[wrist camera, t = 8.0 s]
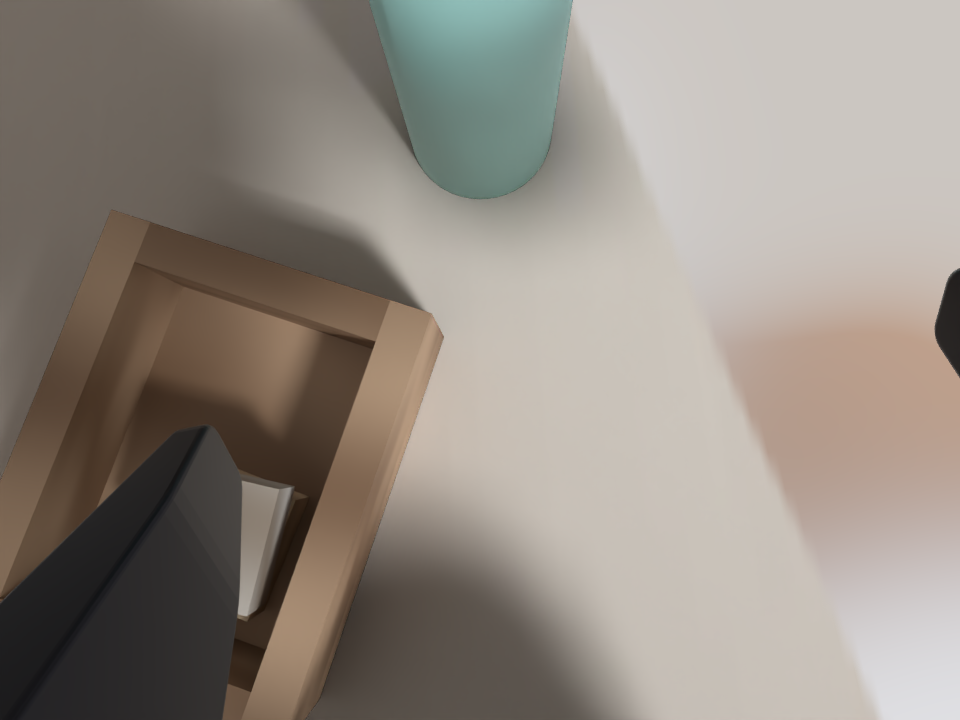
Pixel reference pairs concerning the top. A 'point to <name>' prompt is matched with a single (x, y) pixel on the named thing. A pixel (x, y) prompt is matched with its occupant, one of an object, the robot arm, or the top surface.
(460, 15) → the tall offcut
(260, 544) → the low offcut
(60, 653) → the robot arm
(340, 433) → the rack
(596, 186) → the top surface
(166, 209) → the top surface
